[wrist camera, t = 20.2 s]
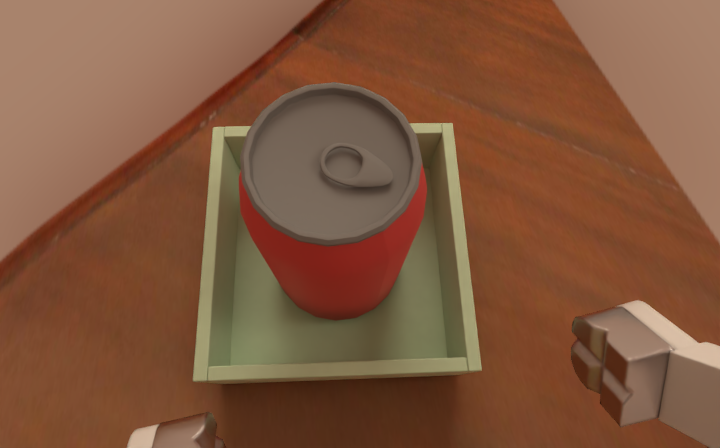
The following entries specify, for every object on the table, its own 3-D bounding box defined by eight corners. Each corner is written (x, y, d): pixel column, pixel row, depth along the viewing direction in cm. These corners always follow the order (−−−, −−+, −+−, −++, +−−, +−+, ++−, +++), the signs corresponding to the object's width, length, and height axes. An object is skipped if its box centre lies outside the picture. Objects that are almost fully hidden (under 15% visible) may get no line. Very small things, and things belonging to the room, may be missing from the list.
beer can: (376, 340, 24) (402, 293, 13) (258, 298, 25) (184, 218, 14) (413, 226, 26) (462, 101, 15) (303, 190, 27) (272, 44, 16)
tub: (436, 163, 28) (452, 122, 24) (458, 375, 24) (482, 371, 20) (233, 167, 28) (212, 126, 24) (219, 384, 24) (192, 381, 20)
